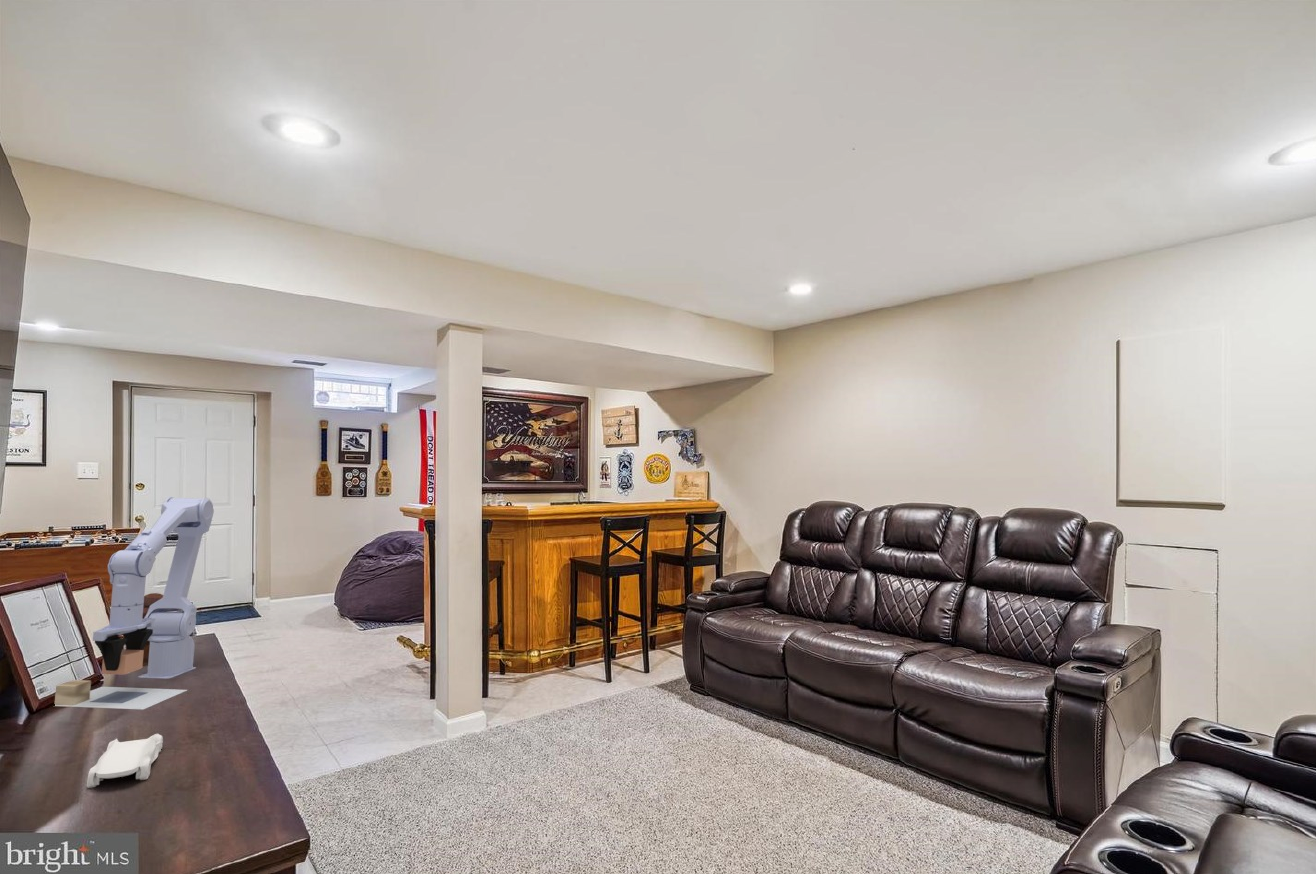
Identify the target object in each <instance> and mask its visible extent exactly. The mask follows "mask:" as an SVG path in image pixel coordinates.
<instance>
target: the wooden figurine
mask: <svg viewBox="0 0 1316 874" xmlns="http://www.w3.org/2000/svg"><path fill="white" fill-rule="evenodd" d="M163 595H164V594H162V593H159V592H155V593H154V592H152V593H148V594H147V593H146V594H144V605H143V617H142V619H144V618H145V616H146V614H147V612H148V610H149V607H150V605H152V604H153V603H155V602H157V601H158V600H160V599H161V598H163ZM165 612H167V611H165ZM149 648H150V641H147V642H146V644H145V646H144V648H143V650H144V654H143V666H142V668H143V667H148V660H149Z"/></svg>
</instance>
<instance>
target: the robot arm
mask: <svg viewBox="0 0 1316 874" xmlns="http://www.w3.org/2000/svg"><path fill="white" fill-rule="evenodd" d="M160 509H161V510H160V516H159V517H158V519H157V520H156V521H155V523H154V524H153V525H152V526H151V528H146V529H143V530H142V531H141V532H139V534H137V536H136V537H135V538H134V539H133V540H132V541H131V542H130V543H129V544H128V546H126V548H125V549H121V550H118V551H117V552H114V553H113V554H112V555H111V556H110V558H109V561H108V564H107V573H108V574H109V583H110V585H112V589H111V602H110V610H109V611H110V612H109V613H110V614H109V624H108V625H107V626H104V627H102V628H100V629H98V630H95V631H93V633H92V641H94V644H95V645H96V646H97V648H98V650H99V652H100V653H101V656H102V660H103V659H104V664H105V668H106V670H108V671H116V670H117V669H118V667H119V663H120V657H121V652H122V649H124V646H125V649H126V650H143V648H144V646H145V644H146V642H147V641H150V648H149V660H148V666H147V671H146V673H143V674H141V675H138V676H137V678H143V679H162V680H163V679H164V680H165V679H167V680H168V679H172V678H175V677H177V676H179V675H182V674H185V673H188V672H190V671H192V670H195V669H196V668H197V667H195V666H194V658H195V657H194V656H195V654H194V653H195V641H194V639H193V637H192V636H190V635H192V634H193V632H194V631H195V628H196V625H197V610H198V608H197V607H196V605H195V604H194V603H193V602H191V601H190V600H189V599H188V595H189V592H190V588H191V587H190V586H191V583H192V579H193V576H194V571H195V566H196V562H197V559H198V555H199V549H200V546H201V544H202V543H201V542H202V538H203V535H204V534H206V533H208V532H209V530H210V527H211V525H212V521H213V517H214V512H215V511H214V504H213V502H212V500H211V499H210V498H208V497H205V498H198V497H196V498H193V497H192V498H191V497H188V498H187V497H172V496H171V497H170V496H168V497H167V498H166V499H165V500H164V502H162V504H161V508H160ZM172 532H173V533H175V534H177V537H178V538H177V542H176V546H175V550H174V553H173V556H172V562H171V564H170V568H169V573H168V575H167V580H166V582H165V583H166V584H165V588H164V592H163V594H162V595H163V598H161V599H160V600H158V601H157V602H155V603H153V604H152V605H150V607H149V610H148V612H147V614H146V616H145V618H144V619H142V617H143V605H144V596H145V592H146V591H145V590H146V579H147V576H148V575H149V574H150V573H151V571H152V569H153V567H154V563H155V562H156V556H157V555H158V554H160V552H161V551H162V550H163V549H164V548H165V546H166V545H167V543H168V540H167V537H168V536H169V535H170V534H171V533H172ZM165 611H166V612H165ZM121 635H123V638H121V637H120V636H121Z"/></svg>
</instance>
